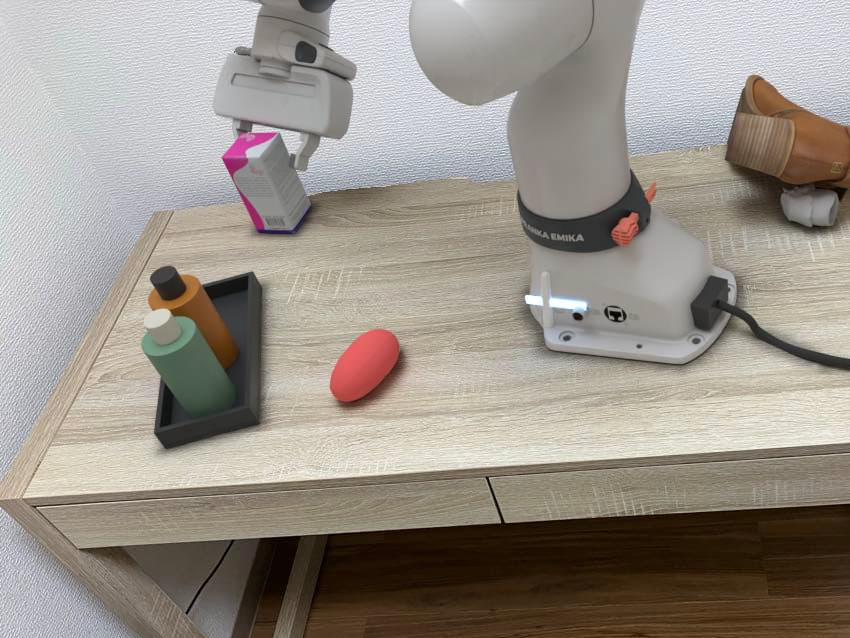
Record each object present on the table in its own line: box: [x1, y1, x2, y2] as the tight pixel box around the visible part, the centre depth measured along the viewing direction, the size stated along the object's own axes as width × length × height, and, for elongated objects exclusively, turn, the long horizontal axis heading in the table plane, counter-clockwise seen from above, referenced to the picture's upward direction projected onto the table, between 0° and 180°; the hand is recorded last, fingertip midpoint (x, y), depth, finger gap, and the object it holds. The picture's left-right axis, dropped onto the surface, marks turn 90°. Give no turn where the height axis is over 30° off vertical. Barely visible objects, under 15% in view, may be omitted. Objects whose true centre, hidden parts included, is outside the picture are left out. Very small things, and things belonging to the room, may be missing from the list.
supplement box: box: [221, 131, 313, 234], centre depth 116 cm, size 6×6×12 cm
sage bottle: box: [140, 309, 237, 419], centre depth 93 cm, size 6×6×12 cm
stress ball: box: [329, 328, 401, 403], centre depth 95 cm, size 5×9×6 cm
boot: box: [724, 73, 850, 189], centre depth 105 cm, size 9×24×19 cm
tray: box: [153, 270, 263, 450], centre depth 102 cm, size 23×10×3 cm, turn 12°
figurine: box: [780, 183, 841, 228], centre depth 101 cm, size 4×8×5 cm
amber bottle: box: [147, 265, 239, 370], centre depth 98 cm, size 6×6×12 cm
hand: (269, 164), depth 115 cm, fingers open, 8 cm apart
